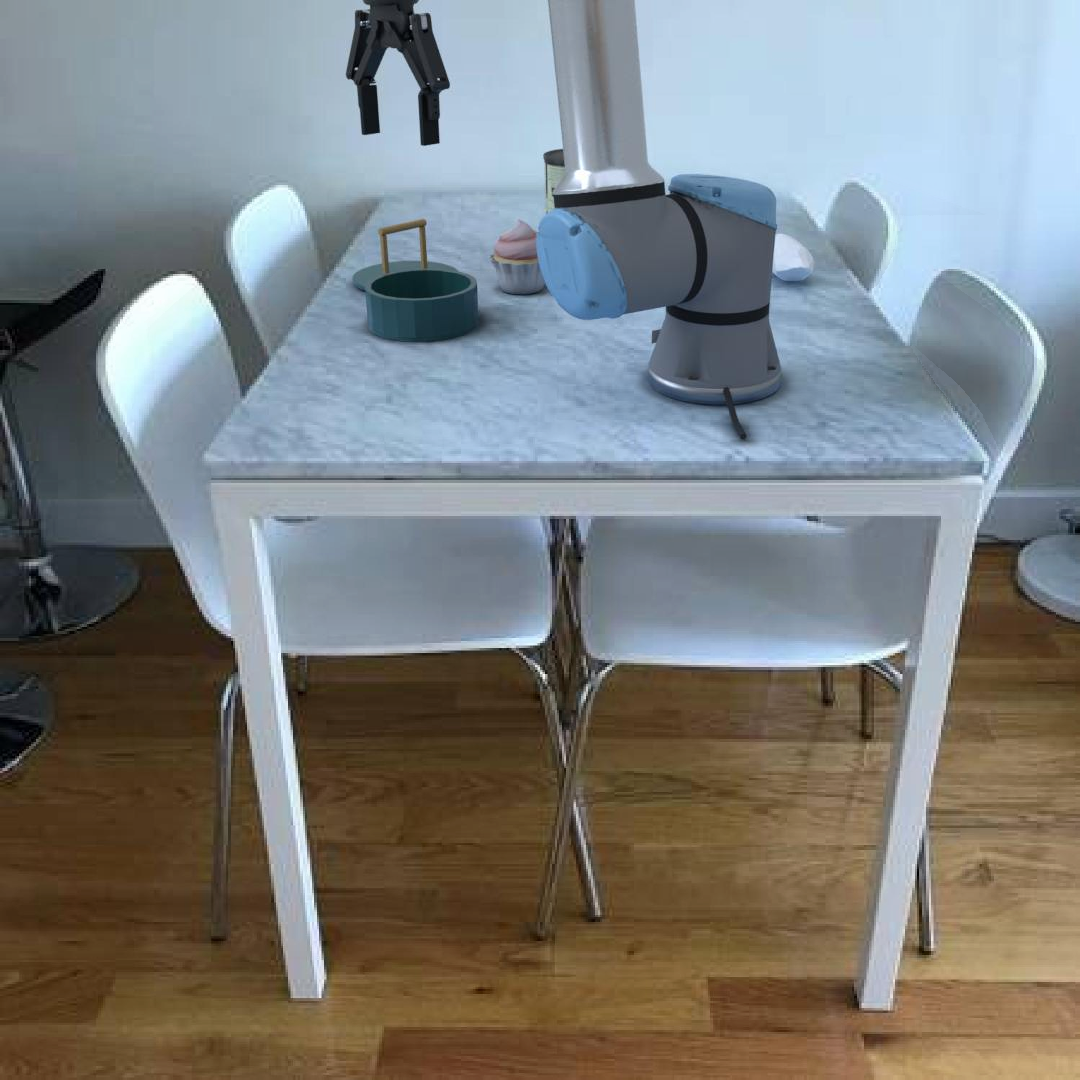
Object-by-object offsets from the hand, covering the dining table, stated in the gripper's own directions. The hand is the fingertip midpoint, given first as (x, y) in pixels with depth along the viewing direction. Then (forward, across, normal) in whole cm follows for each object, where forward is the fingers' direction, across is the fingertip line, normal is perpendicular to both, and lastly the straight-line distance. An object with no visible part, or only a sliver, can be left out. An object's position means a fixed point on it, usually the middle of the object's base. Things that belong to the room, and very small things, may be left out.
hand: (399, 139), depth 172 cm
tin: (+21, -17, +10) cm, 29 cm away
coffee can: (+20, -1, -34) cm, 39 cm away
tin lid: (+20, 0, 0) cm, 20 cm away
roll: (+21, -39, -40) cm, 59 cm away
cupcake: (+21, -14, -10) cm, 27 cm away
